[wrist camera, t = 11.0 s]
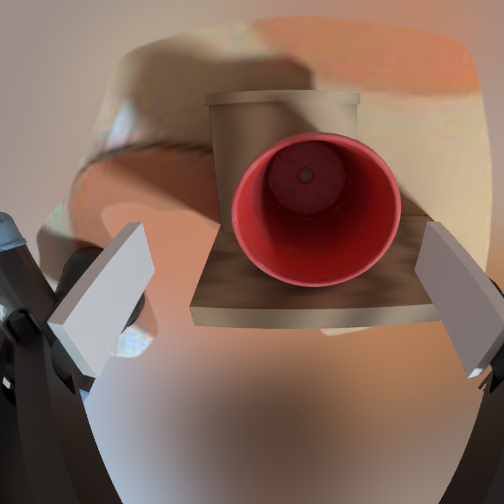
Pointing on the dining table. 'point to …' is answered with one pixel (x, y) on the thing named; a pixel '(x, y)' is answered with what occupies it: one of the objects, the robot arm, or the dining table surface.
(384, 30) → the dining table surface
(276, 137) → the small wooden stand
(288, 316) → the wooden board
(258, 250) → the flower pot
